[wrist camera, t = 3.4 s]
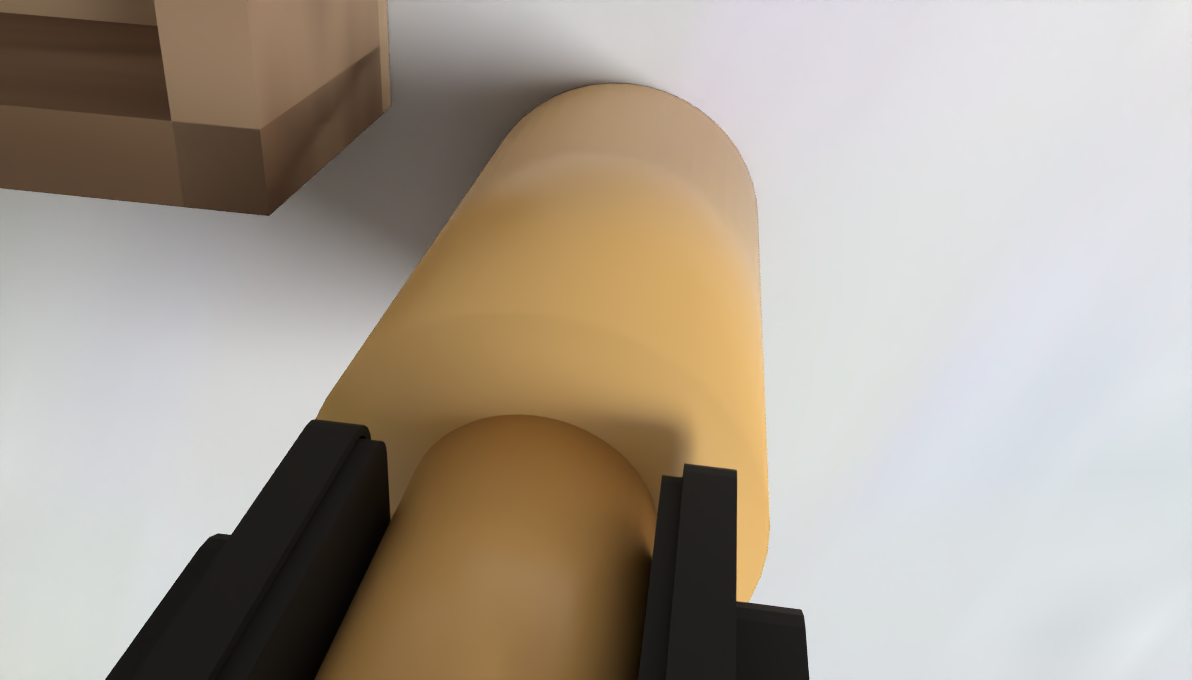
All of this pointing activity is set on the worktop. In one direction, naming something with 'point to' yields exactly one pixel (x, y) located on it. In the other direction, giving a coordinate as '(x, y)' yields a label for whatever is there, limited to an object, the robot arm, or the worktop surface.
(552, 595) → the amber bottle
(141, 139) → the open wooden box
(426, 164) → the worktop surface
